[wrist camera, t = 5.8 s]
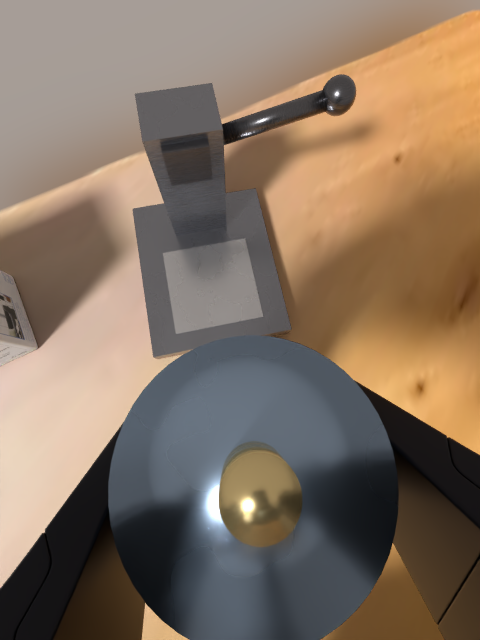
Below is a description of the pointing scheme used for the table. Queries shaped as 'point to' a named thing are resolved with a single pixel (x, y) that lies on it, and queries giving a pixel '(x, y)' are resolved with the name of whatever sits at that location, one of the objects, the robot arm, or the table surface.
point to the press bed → (210, 219)
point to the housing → (253, 492)
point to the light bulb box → (13, 323)
